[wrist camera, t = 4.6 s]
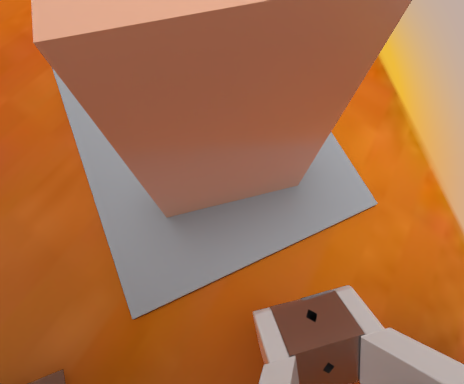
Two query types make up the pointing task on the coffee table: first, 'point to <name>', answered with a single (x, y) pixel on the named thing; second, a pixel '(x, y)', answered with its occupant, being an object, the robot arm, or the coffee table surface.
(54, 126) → the coffee table surface
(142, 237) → the mat
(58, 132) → the coffee table surface
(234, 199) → the tile
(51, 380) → the dice cube
